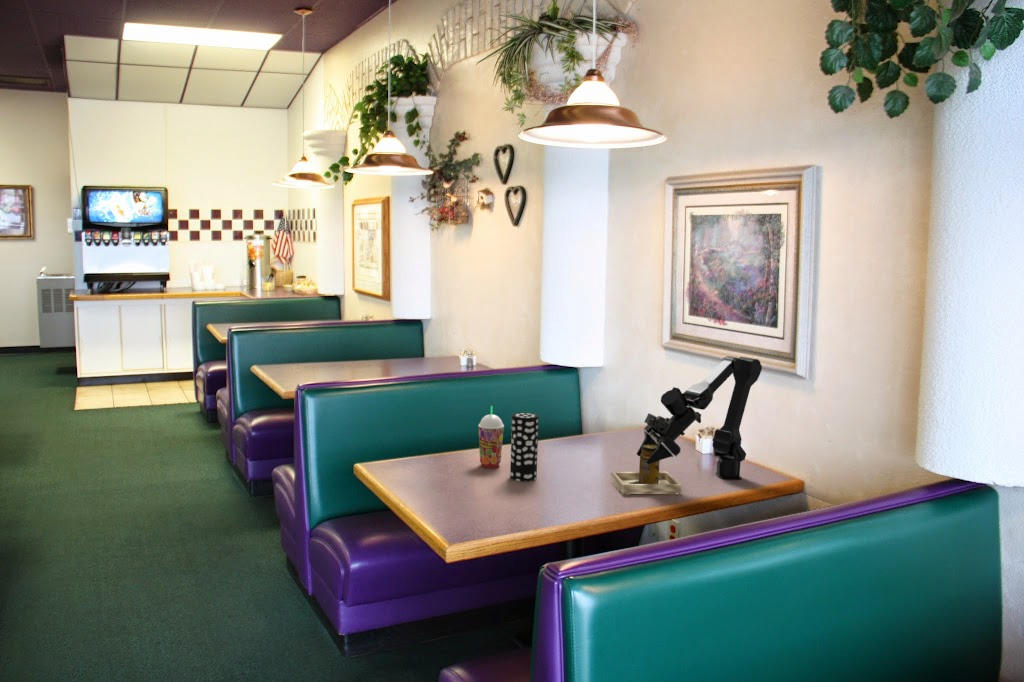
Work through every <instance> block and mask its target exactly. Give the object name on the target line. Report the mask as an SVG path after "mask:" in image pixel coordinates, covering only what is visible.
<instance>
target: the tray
mask: <svg viewBox="0 0 1024 682" xmlns="http://www.w3.org/2000/svg"><path fill="white" fill-rule="evenodd" d="M610 475H611V477H610V482H611V483H612V484H613V486H614V485H615V486H616V487H615V488H616V489H617V490H618V492H619V491H620V492H621V493H622V494H621V493H620V492H619V493H620V494H621V495H622V496H630V495H629V494H670V495H681V494H682V484H681V483H680V482H679V481H678V480H677V479H676V478H675V477H674V476H672V475H671V474H670V473H669V472H668V471H659V484H630V483H628V482H635V481H639V471H611V473H610ZM676 493H678V494H676ZM680 493H681V494H680ZM624 494H625V495H624Z"/></svg>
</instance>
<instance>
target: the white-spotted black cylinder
mask: <svg viewBox="0 0 1024 682" xmlns="http://www.w3.org/2000/svg"><path fill="white" fill-rule="evenodd" d="M539 417H540V416H539V414H537V413H532V412H515V413H513V414H512V415H511V435H510V436H511V438H510V442H511V443H510V467H509V468H510V470H509V471H510V473H509V474H510V475H509V477H510V479H511V480H513V481H516V482H532V481H536V479H537V478H538V477H537V475H538V473H537V472H538V452H539V451H538V448H539V447H538V445H539V444H538V443H539V419H540V418H539Z"/></svg>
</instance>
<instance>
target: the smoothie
mask: <svg viewBox="0 0 1024 682" xmlns="http://www.w3.org/2000/svg"><path fill="white" fill-rule="evenodd" d="M493 408H494V407H493V405H490V414H486V415H484V416H483V417H482V418H481V420H480V422H479V423H478V426H477V427H478V441H479V442H478V445H479V449H478V450H479V463H480V464H481V467H483V468H486V469H494V468H495V469H496V468H499V466H500V463H501V461H502V451H503V438H504V429H505V428H504V427H505V424H504V423H503V421H502V419H501V418H500V417H499V416H498V415H496V414H493V410H494V409H493Z"/></svg>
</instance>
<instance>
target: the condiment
mask: <svg viewBox="0 0 1024 682" xmlns="http://www.w3.org/2000/svg"><path fill="white" fill-rule="evenodd" d="M656 448H657V446H655V445H643V446H642V451H641V452H642V453H641V454H640V456H639V469H638V470H639V471H638V472H639V481H635V482H628V483H630V484H659V472H660V462H661V460H659V461H656V462H654V463H651V464H647V463H646V461H647V459H648V458H649V457H650V456H651V454H652V453H653V452H654V451H655V449H656Z"/></svg>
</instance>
